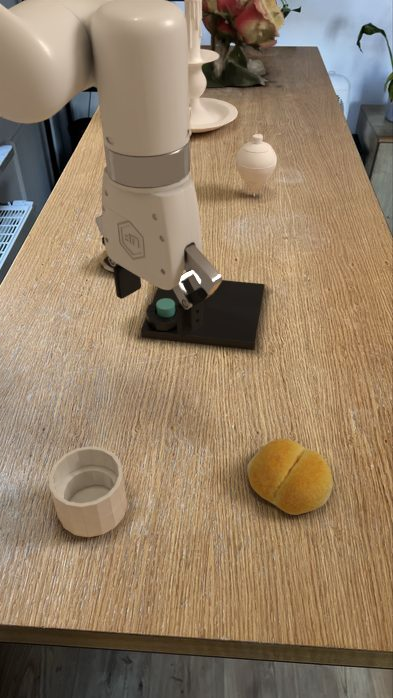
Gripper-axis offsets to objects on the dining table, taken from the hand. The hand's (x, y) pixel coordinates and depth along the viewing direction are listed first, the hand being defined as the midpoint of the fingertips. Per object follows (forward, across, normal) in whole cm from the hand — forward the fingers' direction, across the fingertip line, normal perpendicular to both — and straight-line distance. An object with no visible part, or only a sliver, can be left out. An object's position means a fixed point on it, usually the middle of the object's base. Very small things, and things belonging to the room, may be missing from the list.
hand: (158, 311), depth 64 cm
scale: (+14, -9, +17) cm, 24 cm away
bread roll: (+15, +18, +1) cm, 24 cm away
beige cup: (+14, +6, -16) cm, 22 cm away
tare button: (+12, -11, +11) cm, 19 cm away
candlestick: (+15, -60, +66) cm, 91 cm away
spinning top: (+15, -27, +50) cm, 59 cm away
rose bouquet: (+15, -82, +103) cm, 133 cm away
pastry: (+15, -27, +17) cm, 36 cm away
